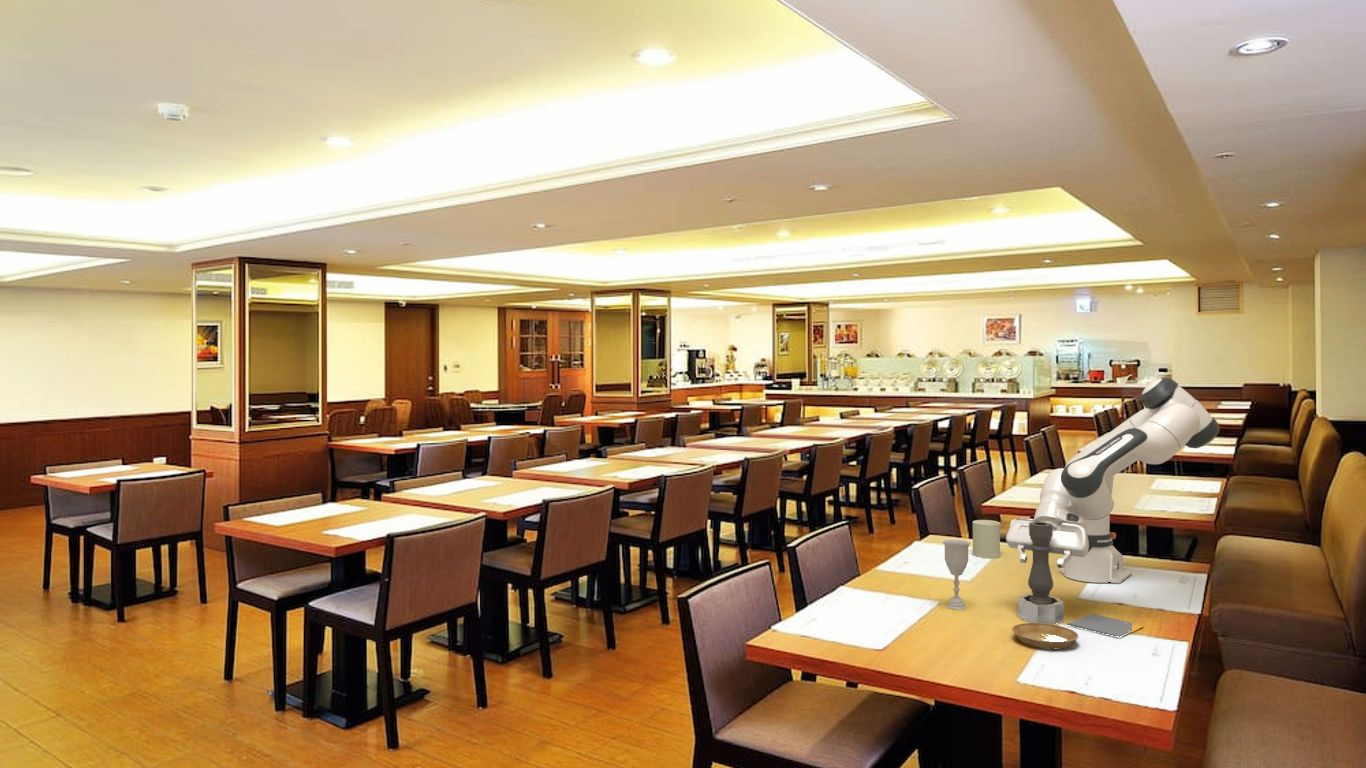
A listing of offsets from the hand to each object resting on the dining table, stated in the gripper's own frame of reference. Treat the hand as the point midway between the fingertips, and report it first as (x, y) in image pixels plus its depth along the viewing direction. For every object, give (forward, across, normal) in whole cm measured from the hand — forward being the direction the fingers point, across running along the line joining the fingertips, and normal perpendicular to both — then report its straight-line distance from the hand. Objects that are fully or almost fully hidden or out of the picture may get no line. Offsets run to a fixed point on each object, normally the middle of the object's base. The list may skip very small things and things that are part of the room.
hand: (1041, 564), depth 221 cm
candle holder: (+10, 0, +11) cm, 15 cm away
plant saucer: (+23, +6, -2) cm, 24 cm away
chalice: (+12, -22, +9) cm, 26 cm away
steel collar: (+10, 0, +11) cm, 15 cm away
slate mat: (+8, +15, +12) cm, 21 cm away
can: (-34, -36, +55) cm, 74 cm away
